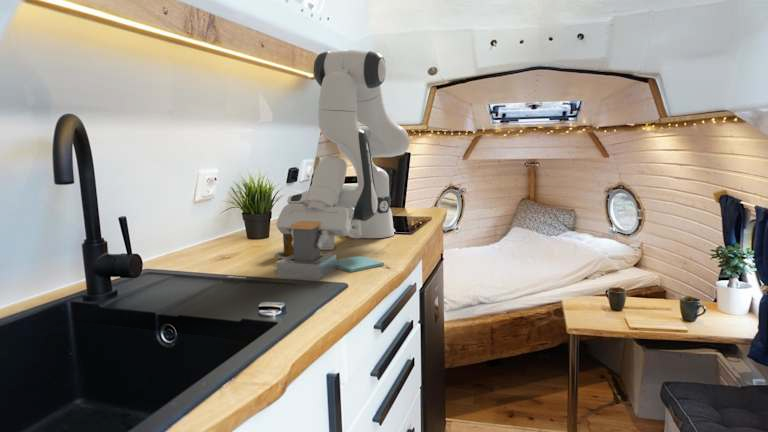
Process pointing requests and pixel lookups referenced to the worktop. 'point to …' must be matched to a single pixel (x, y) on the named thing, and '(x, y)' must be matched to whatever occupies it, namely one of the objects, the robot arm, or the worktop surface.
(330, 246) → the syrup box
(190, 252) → the worktop surface
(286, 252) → the condiment
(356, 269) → the mat
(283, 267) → the collar
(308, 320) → the worktop surface
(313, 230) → the grey lidded canister
